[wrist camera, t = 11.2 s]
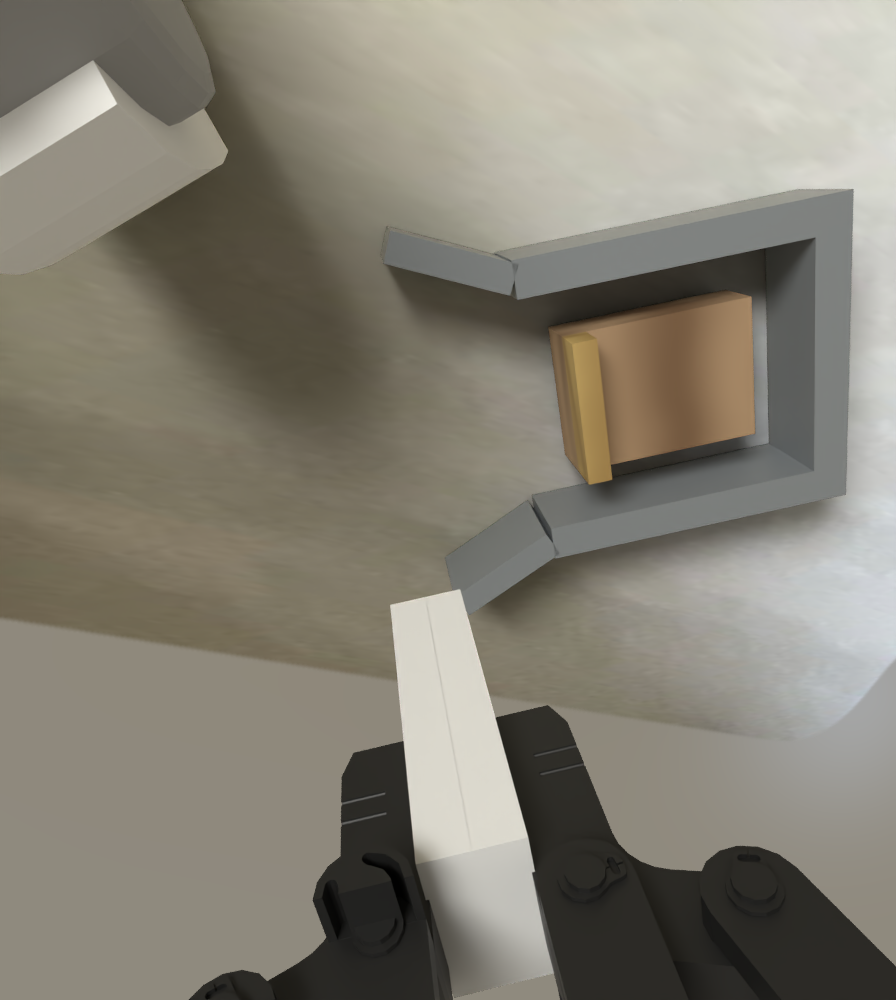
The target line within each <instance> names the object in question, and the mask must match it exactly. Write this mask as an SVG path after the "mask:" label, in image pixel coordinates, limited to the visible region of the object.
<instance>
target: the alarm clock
mask: <svg viewBox="0 0 896 1000" xmlns="http://www.w3.org/2000/svg"><path fill="white" fill-rule="evenodd" d="M215 93H216V91H215V86H214V82H213V77H212V73H211V69H210V64H209V60H208V56H207V54H206V51H205V49H204V47H203V44H202V42H201V40H200V37H199V35H198V33H197V30H196V28H195V26H194V24H193V22H192V20H191V18H190V16H189V14H188V12H187V10H186V8H185V6H184V4H183V2H182V0H0V274H17V275H23V274H26V273H29V272H32V271H35V270H39V269H42V268H45V267H48V266H51V265H53V264H55V263H57V262H58V261H60V260H62V259H64V258H65V257H67V256H69V255H71V254H72V253H74V252H76V251H78V250H79V249H81V248H83V247H84V246H86V245H88V244H89V243H91V242H93V241H95V240H96V239H98V238H100V237H101V236H103V235H105V234H106V233H108V232H110V231H111V230H113V229H115V228H116V227H118V226H120V225H121V224H123V223H125V222H126V221H128V220H130V219H131V218H133V217H135V216H136V215H138V214H140V213H141V212H143V211H145V210H146V209H148V208H150V207H151V206H153V205H155V204H156V203H158V202H160V201H161V200H163V199H165V198H166V197H168V196H170V195H171V194H173V193H175V192H176V191H178V190H180V189H181V188H183V187H185V186H186V185H188V184H190V183H191V182H193V181H195V180H196V179H198V178H200V177H201V176H203V175H205V174H206V173H208V172H210V171H211V170H213V169H215V168H216V167H218V166H220V165H221V164H223V162H224V160H225V158H226V156H227V153H228V150H227V148H226V146H225V144H224V143H223V141H222V139H221V137H220V136H219V134H218V132H217V130H216V128H215V127H214V125H213V123H212V121H211V120H210V118H209V116H208V114H207V113H206V111H205V109H204V108H205V107H207V105H208V104H209V102H210V101H211V99H212V98H213V96H214V94H215Z"/></svg>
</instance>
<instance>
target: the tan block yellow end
mask: <svg viewBox="0 0 896 1000" xmlns="http://www.w3.org/2000/svg"><path fill="white" fill-rule="evenodd" d="M548 329H549V337H550V344H551V352H552V359H553V367H554V374H555V382H556V389H557V397H558V404H559V412H560V419H561V427H562V434H563V442H564V449H565V455H566V456H567V457H568V458H569V460H570V461H571V462H572V464H573V465H574V466H575V467H576V469H577V470H578V471H579V472H580V474H581V475H582V476H583V478H584V479H585V480H586V481H587V483H588V484H589V485H591V484H595V483H600V482H604V481H609V480H612V472H611V465H612V464H617V463H622V462H626V461H631V460H635V459H640V458H645V457H649V456H654V455H658V454H663V453H668V452H672V451H677V450H682V449H686V448H691V447H695V446H700V445H705V444H709V443H714V442H718V441H723V440H728V439H732V438H737V437H742V436H746V435H751V434H755V411H754V373H753V335H752V297H751V296H747V295H744V294H740V293H736V292H732V291H729V290H721V291H717V292H712V293H707V294H702V295H698V296H693V297H688V298H683V299H679V300H674V301H669V302H664V303H660V304H655V305H650V306H645V307H641V308H636V309H631V310H626V311H622V312H617V313H612V314H607V315H603V316H598V317H593V318H588V319H584V320H579V321H574V322H569V323H565V324H560V325H555V326H551V327H548Z"/></svg>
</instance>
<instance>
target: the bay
mask: <svg viewBox="0 0 896 1000" xmlns="http://www.w3.org/2000/svg"><path fill="white" fill-rule="evenodd" d="M852 229H853V189H797V190H792V191H788V192H783V193H778V194H773V195H768V196H764V197H759V198H754V199H749V200H744V201H739V202H735V203H730V204H725V205H720V206H715V207H711V208H706V209H701V210H696V211H691V212H687V213H682V214H677V215H672V216H667V217H662V218H658V219H653V220H648V221H643V222H638V223H634V224H629V225H624V226H619V227H614V228H610V229H605V230H600V231H595V232H590V233H585V234H581V235H576V236H571V237H566V238H561V239H557V240H552V241H547V242H542V243H537V244H533V245H528V246H523V247H518V248H513V249H509V250H504V251H499V252H494V254H495V255H494V254H491V253H487V252H483V251H479V250H475V249H472V248H468V247H464V246H460V245H456V244H453V243H449V242H445V241H441V240H438V239H434V238H430V237H426V236H422V235H419V234H415V233H411V232H407V231H403V230H400V229H396V228H392V227H388V226H387V227H386V232H385V237H384V241H383V246H382V251H381V258H382V261H383V264H387V265H391V266H395V267H399V268H402V269H406V270H410V271H414V272H418V273H422V274H426V275H430V276H434V277H438V278H442V279H446V280H450V281H454V282H458V283H461V284H465V285H469V286H473V287H477V288H481V289H485V290H489V291H493V292H497V293H501V294H505V295H509V296H510V295H511V296H512V297H514V298H515V299H517V300H520V299H524V298H529V297H534V296H539V295H543V294H548V293H553V292H558V291H562V290H567V289H572V288H577V287H582V286H586V285H591V284H596V283H601V282H605V281H610V280H615V279H620V278H624V277H629V276H634V275H639V274H644V273H648V272H653V271H658V270H663V269H667V268H672V267H677V266H682V265H686V264H691V263H696V262H701V261H705V260H710V259H715V258H720V257H725V256H729V255H734V254H739V253H744V252H748V251H753V250H758V249H763V248H765V257H766V311H767V364H768V417H769V444H765V445H760V446H755V447H751V448H746V449H742V450H737V451H732V452H728V453H723V454H719V455H714V456H709V457H705V458H700V459H696V460H691V461H686V462H682V463H677V464H673V465H668V466H663V467H659V468H654V469H650V470H645V471H640V472H636V473H631V474H627V475H622V476H617V477H613V478H612V480H609V481H604V482H600V483H595V484H591V485H589V484H588V483H585V484H581V485H576V486H571V487H567V488H562V489H558V490H553V491H548V492H544V493H539V494H535V495H532V499H533V505H534V508H533V507H532V506H531V504H530V503H529V502H528V500H527V501H525V502H524V503H523V504H521V505H520V506H518V507H517V508H515V509H514V510H512V511H511V512H510V513H508V514H507V515H505V516H504V517H502V518H501V519H500V520H498V521H497V522H495V523H494V524H492V525H491V526H490V527H488V528H487V529H485V530H484V531H482V532H481V533H479V534H478V535H477V536H475V537H474V538H472V539H471V540H469V541H468V542H467V543H465V544H464V545H462V546H461V547H459V548H458V549H457V550H455V551H454V552H452V553H451V554H449V555H448V556H447V557H445V560H446V564H447V568H448V572H449V577H450V581H451V585H452V590H453V591H454V590H459V589H460V591H461V594H462V598H463V602H464V605H465V609H466V612H467V613H468V614H469V615H471V614H472V613H473V612H475V611H476V610H478V609H479V608H481V607H482V606H484V605H485V604H487V603H488V602H490V601H491V600H493V599H494V598H496V597H497V596H498V595H500V594H501V593H503V592H504V591H506V590H507V589H509V588H510V587H512V586H513V585H515V584H516V583H518V582H519V581H521V580H522V579H523V578H525V577H526V576H528V575H529V574H531V573H532V572H534V571H535V570H537V569H538V568H540V567H541V566H543V565H544V564H546V563H547V562H548V561H550V560H551V559H553V558H554V557H555V558H560V557H565V556H569V555H574V554H579V553H583V552H588V551H592V550H597V549H601V548H606V547H610V546H615V545H619V544H624V543H629V542H633V541H638V540H642V539H647V538H651V537H656V536H660V535H665V534H669V533H674V532H678V531H683V530H688V529H692V528H697V527H701V526H706V525H710V524H715V523H719V522H724V521H728V520H733V519H738V518H742V517H747V516H751V515H756V514H760V513H765V512H769V511H774V510H778V509H783V508H788V507H792V506H797V505H801V504H806V503H810V502H815V501H819V500H824V499H828V498H833V497H837V496H842V495H846V470H847V430H848V389H849V349H850V309H851V269H852Z"/></svg>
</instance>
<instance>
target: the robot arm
mask: <svg viewBox="0 0 896 1000" xmlns="http://www.w3.org/2000/svg"><path fill="white" fill-rule="evenodd" d="M390 606H391V616H392V627H393V637H394V647H395V658H396V668H397V678H398V688H399V699H400V709H401V719H402V729H403V740H404V741H402V742H398V743H394V744H389V745H385V746H381V747H377V748H372V749H369V750H364V751H360V752H355V753H353V755H352V757H351V759H350V761H349V763H348V765H347V767H346V769H345V772H344V773H343V776H342V796H341V802H342V807H341V823H342V827H341V857H339V858H338V859H337V860H336V861H334V862H333V863H332V864H330V865H329V866H328V867H327V869H326V870H325V872H324V873H323V875H322V876H321V878H320V879H319V881H318V882H317V885H316V889H315V893H314V897H313V902H314V905H315V908H316V910H317V913H318V916H319V918H320V921H321V924H322V926H323V929H324V932H325V934H326V939H325V940H324V942H323V943H322V944H321V945H320V946H319V947H318V948H317V949H316V950H315V951H314V952H313V953H312V954H311V955H309V956H308V957H306V958H305V959H303V960H302V961H301V962H299V963H298V964H296V965H294V966H293V967H291V968H289V969H287V970H286V971H284V972H282V973H281V974H279V975H277V976H275V977H274V978H272V979H270V980H269V981H266V980H265V979H264V978H263V977H262V976H261V975H260V974H258V973H253V972H248V971H244V970H240V971H236V972H230V973H226V974H222V975H220V976H219V977H217V978H215V979H213V980H212V981H210V982H208V983H206V984H205V985H203V986H202V987H201V988H200V989H199V990H198V991H197V992H196V993H195V994H194V995H193V996H192V997H191V998H190V999H189V1000H453V997H452V992H453V996H454V998H456V997H460V996H464V995H468V994H472V993H476V992H480V991H484V990H488V989H492V988H496V987H500V986H504V985H508V984H512V983H516V982H520V981H524V980H528V979H532V978H536V977H540V976H544V975H548V974H552V973H554V975H555V979H556V983H557V987H558V991H559V996H560V1000H896V966H895V965H894V964H893V963H892V962H891V961H890V960H889V959H888V958H887V957H886V956H885V955H884V954H883V953H882V952H881V951H880V950H879V949H877V947H876V946H875V945H874V944H873V943H872V942H871V941H870V940H869V939H868V938H867V937H866V936H865V935H864V934H863V933H862V932H861V931H860V930H859V929H858V928H857V927H856V926H855V925H854V924H853V923H852V922H851V921H850V920H849V919H848V918H847V917H846V916H845V915H844V914H843V913H842V912H841V911H840V910H839V909H838V908H837V907H836V906H835V905H834V904H833V903H832V902H831V901H830V900H829V899H828V898H827V897H826V896H825V895H824V894H823V893H821V891H820V890H819V889H818V888H817V887H816V886H815V885H814V884H812V883H811V881H810V880H808V878H807V877H806V876H805V875H804V874H803V873H802V872H800V871H799V869H798V868H797V867H795V866H794V865H793V864H791V863H790V862H789V861H787V860H786V859H784V858H783V857H781V856H780V855H779V854H777V853H773V852H771V851H768V850H765V849H762V848H760V847H750V846H735V847H731V848H728V849H725V850H721V851H719V852H718V853H716V854H715V855H714V856H713V857H711V858H710V859H709V860H708V861H706V863H705V865H704V868H703V870H702V871H686V870H670V869H664V868H658V867H654V866H651V865H648V864H646V863H643V862H640V861H639V860H637V859H636V858H634V857H633V856H631V855H630V854H628V853H627V852H626V851H625V850H624V849H623V848H622V847H621V846H620V845H619V844H618V842H617V840H616V839H615V837H614V835H613V833H612V831H611V829H610V826H609V824H608V821H607V819H606V816H605V814H604V811H603V809H602V806H601V804H600V802H599V799H598V797H597V795H596V792H595V789H594V787H593V784H592V782H591V779H590V777H589V774H588V772H587V770H586V767H585V766H584V762H583V760H582V757H581V755H580V752H579V750H578V748H577V746H576V742H575V740H574V737H573V735H572V733H571V730H570V728H569V725H568V723H567V722H566V720H564V719H563V718H562V717H561V716H560V715H559V714H558V713H556V712H555V711H554V710H553V709H552V708H551V707H549V706H548V705H547V706H543V707H538V708H534V709H530V710H526V711H521V712H517V713H513V714H509V715H504V716H501V717H497V718H495V715H494V712H493V707H492V704H491V700H490V696H489V693H488V689H487V686H486V682H485V678H484V675H483V671H482V667H481V664H480V660H479V656H478V653H477V649H476V645H475V642H474V638H473V634H472V631H471V627H470V623H469V620H468V616H467V613H466V609H465V605H464V602H463V598H462V594H461V591H460V589H459V590H454V591H450V592H445V593H441V594H437V595H432V596H428V597H424V598H419V599H415V600H410V601H406V602H402V603H397V604H393V605H390Z"/></svg>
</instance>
